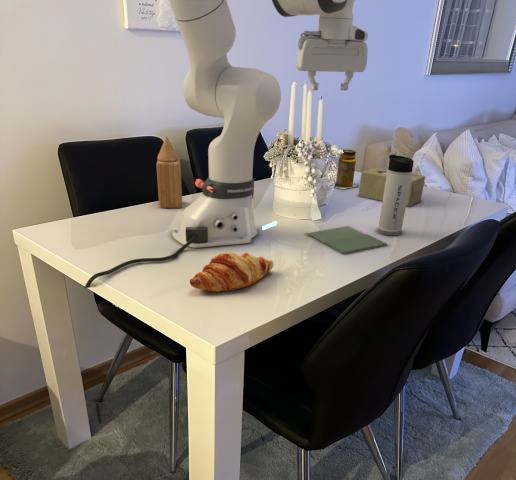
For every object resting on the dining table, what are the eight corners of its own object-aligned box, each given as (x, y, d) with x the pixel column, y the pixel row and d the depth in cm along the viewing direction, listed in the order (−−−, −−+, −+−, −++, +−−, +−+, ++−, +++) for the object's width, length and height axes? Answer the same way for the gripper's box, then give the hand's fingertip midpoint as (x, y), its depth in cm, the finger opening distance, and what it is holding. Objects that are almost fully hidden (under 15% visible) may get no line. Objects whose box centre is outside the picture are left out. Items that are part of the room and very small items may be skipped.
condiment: (357, 186, 182) (362, 151, 176) (343, 189, 177) (347, 154, 171) (341, 182, 187) (345, 147, 180) (327, 185, 182) (330, 150, 175)
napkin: (344, 254, 124) (344, 251, 124) (306, 234, 136) (307, 232, 135) (386, 245, 130) (387, 243, 130) (347, 227, 142) (348, 225, 141)
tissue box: (357, 195, 171) (363, 146, 163) (370, 190, 177) (377, 143, 169) (409, 207, 161) (418, 155, 153) (421, 201, 168) (431, 151, 159)
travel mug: (383, 226, 143) (395, 152, 133) (404, 232, 140) (418, 156, 129) (372, 231, 139) (384, 156, 129) (394, 237, 136) (408, 160, 125)
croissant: (263, 280, 117) (254, 246, 116) (290, 274, 109) (281, 238, 108) (185, 303, 105) (174, 265, 104) (209, 297, 97) (198, 257, 96)
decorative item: (160, 202, 157) (156, 133, 147) (182, 202, 158) (179, 133, 147) (159, 208, 152) (154, 137, 141) (181, 208, 152) (178, 137, 142)
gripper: (304, 30, 128) (300, 91, 135) (373, 33, 135) (366, 91, 142) (294, 30, 133) (290, 89, 140) (361, 33, 140) (354, 89, 147)
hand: (329, 90), depth 141 cm, fingers open, 8 cm apart
